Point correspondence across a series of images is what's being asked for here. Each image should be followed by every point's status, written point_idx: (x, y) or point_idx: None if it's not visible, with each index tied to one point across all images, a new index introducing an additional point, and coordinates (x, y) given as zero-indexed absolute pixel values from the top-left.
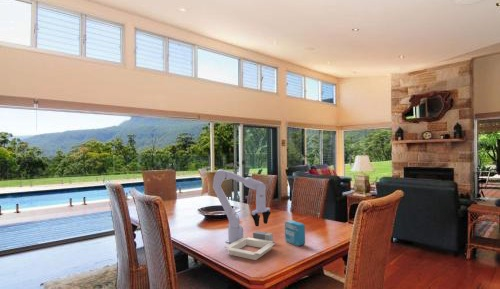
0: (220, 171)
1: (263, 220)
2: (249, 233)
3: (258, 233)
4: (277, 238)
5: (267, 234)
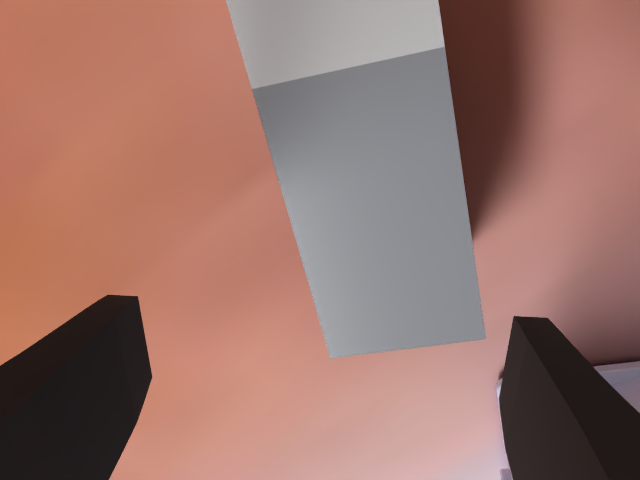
0: None
1: (120, 451)
2: (220, 476)
3: (454, 232)
4: (41, 7)
5: (386, 5)
